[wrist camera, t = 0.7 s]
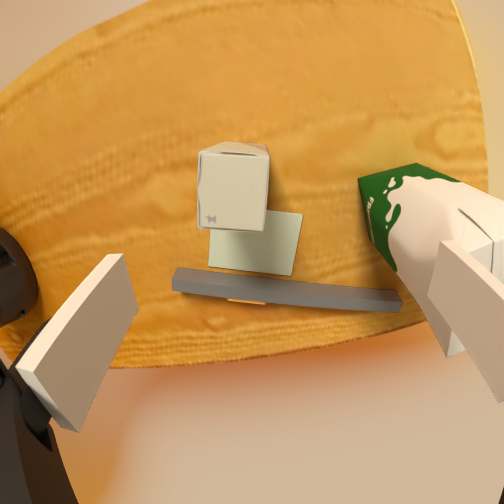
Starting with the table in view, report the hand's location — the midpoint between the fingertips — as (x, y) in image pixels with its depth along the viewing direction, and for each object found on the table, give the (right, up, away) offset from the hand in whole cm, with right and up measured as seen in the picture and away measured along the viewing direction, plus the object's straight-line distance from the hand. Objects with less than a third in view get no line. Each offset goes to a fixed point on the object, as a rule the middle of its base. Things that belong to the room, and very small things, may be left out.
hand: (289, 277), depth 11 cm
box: (-2, +9, +16) cm, 19 cm away
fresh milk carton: (+13, +6, +17) cm, 23 cm away
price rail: (+3, -3, +22) cm, 22 cm away
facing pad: (-1, +2, +19) cm, 20 cm away
